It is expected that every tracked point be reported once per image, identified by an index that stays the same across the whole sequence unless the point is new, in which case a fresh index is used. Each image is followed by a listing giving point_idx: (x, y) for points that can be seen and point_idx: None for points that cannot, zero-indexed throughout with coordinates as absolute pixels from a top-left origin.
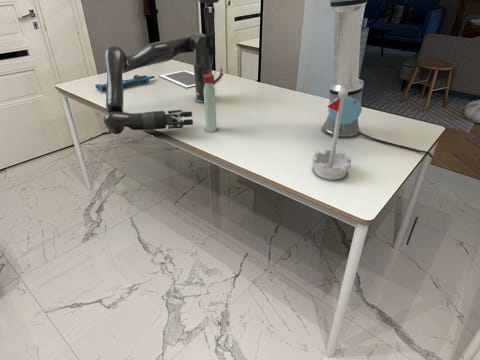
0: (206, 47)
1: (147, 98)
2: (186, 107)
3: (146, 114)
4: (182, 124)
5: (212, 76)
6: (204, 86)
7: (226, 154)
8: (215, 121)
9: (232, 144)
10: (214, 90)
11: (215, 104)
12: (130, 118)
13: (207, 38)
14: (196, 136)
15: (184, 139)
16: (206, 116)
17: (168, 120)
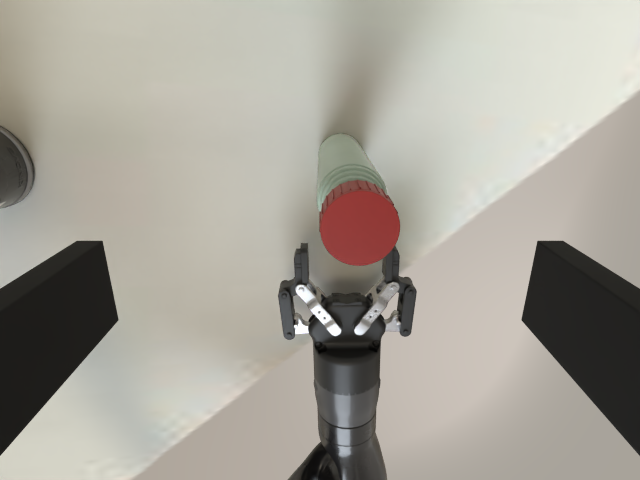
0: (116, 320)
1: None
2: None
3: (360, 414)
4: (409, 282)
5: (389, 201)
6: None
7: (566, 114)
8: (357, 143)
9: (494, 80)
10: (365, 167)
11: (354, 150)
12: (369, 451)
13: (43, 379)
14: None
15: (406, 256)
16: None
17: (380, 334)
